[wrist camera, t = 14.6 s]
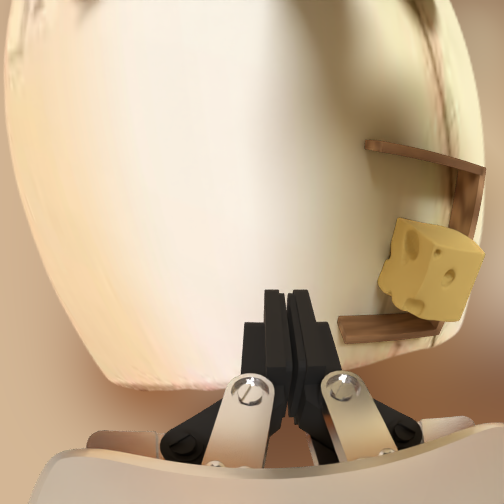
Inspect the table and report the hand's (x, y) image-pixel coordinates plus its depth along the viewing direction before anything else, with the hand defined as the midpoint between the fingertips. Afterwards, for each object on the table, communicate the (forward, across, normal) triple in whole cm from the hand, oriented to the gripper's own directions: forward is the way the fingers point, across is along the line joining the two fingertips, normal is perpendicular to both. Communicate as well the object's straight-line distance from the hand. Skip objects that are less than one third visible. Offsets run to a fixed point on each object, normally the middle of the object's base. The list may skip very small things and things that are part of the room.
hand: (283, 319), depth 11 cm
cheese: (+24, -22, +8) cm, 33 cm away
